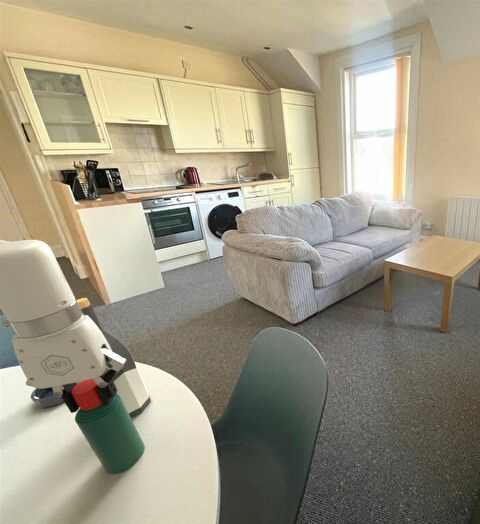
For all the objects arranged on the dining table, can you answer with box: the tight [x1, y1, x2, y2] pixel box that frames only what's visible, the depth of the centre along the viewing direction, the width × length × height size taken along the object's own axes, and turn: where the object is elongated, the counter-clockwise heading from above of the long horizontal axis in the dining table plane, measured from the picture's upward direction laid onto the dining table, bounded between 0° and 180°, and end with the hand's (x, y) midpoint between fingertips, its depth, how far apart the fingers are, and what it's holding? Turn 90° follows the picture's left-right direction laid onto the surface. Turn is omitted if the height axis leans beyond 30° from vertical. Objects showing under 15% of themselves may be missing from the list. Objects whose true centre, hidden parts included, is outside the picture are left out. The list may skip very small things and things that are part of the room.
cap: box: [71, 379, 103, 410], centre depth 51 cm, size 4×4×4 cm
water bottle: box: [74, 394, 145, 475], centre depth 54 cm, size 7×7×19 cm
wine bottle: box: [76, 297, 152, 419], centre depth 63 cm, size 8×8×30 cm
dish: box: [29, 381, 82, 409], centre depth 73 cm, size 9×9×3 cm
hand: (95, 401), depth 52 cm, fingers open, 4 cm apart
